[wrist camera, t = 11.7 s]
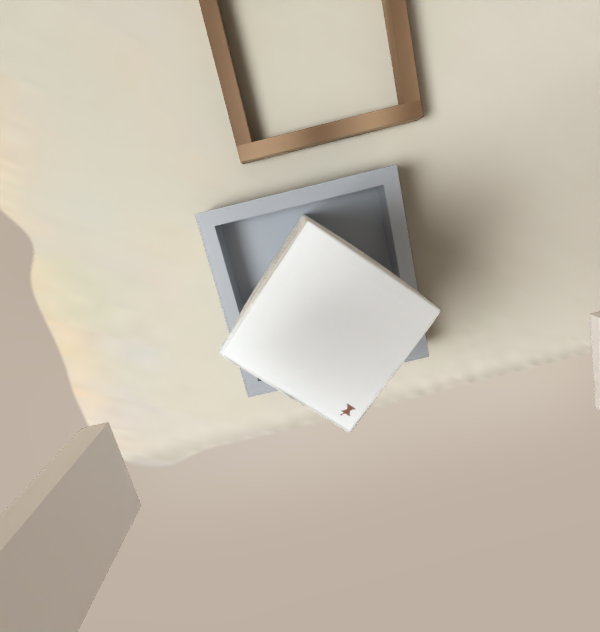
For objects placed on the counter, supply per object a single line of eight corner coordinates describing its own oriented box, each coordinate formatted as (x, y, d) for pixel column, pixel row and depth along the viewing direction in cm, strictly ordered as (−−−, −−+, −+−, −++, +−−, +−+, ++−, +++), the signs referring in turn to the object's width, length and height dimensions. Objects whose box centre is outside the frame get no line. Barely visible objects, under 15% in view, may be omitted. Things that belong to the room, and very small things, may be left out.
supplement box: (388, 269, 31) (450, 313, 19) (328, 350, 32) (349, 441, 20) (303, 209, 30) (309, 214, 17) (245, 296, 31) (213, 358, 19)
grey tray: (386, 168, 30) (396, 164, 27) (417, 342, 33) (429, 356, 30) (204, 212, 30) (194, 214, 27) (252, 380, 34) (248, 397, 31)
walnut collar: (384, -91, 26) (389, -109, 24) (416, 120, 29) (422, 116, 27) (191, -38, 26) (185, -52, 25) (243, 164, 29) (240, 162, 28)
